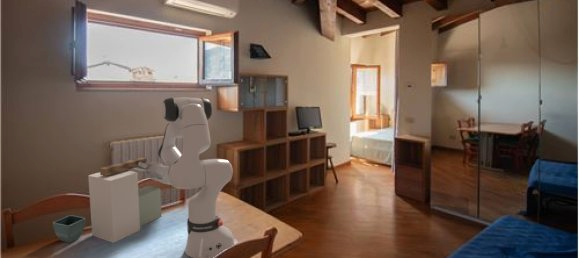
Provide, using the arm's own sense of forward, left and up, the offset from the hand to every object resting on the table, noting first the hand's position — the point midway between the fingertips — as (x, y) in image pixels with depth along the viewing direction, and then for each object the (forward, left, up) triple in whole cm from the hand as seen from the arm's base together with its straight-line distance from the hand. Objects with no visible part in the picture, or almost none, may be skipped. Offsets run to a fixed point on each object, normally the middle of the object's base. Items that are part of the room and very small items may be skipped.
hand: (134, 162), depth 167 cm
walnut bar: (+4, +4, -2) cm, 6 cm away
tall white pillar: (+8, +8, -31) cm, 33 cm away
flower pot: (+26, +10, -31) cm, 41 cm away
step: (-3, -3, -31) cm, 31 cm away
